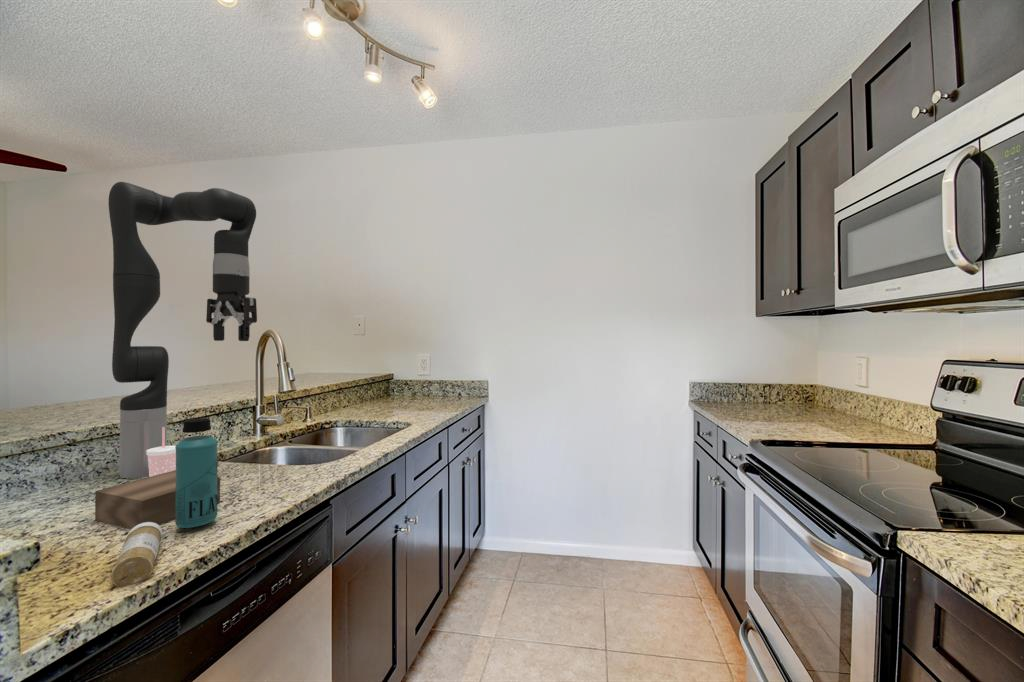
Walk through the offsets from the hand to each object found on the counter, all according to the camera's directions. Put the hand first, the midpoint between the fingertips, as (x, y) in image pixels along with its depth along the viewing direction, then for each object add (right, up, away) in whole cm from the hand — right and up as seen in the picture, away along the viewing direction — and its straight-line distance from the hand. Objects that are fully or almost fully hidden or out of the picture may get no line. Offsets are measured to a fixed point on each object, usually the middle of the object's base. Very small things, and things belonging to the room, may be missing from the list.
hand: (231, 340), depth 104 cm
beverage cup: (-13, -34, -5) cm, 37 cm away
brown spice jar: (+16, -32, -45) cm, 58 cm away
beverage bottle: (+11, -34, -27) cm, 45 cm away
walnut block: (-1, -35, -19) cm, 40 cm away
